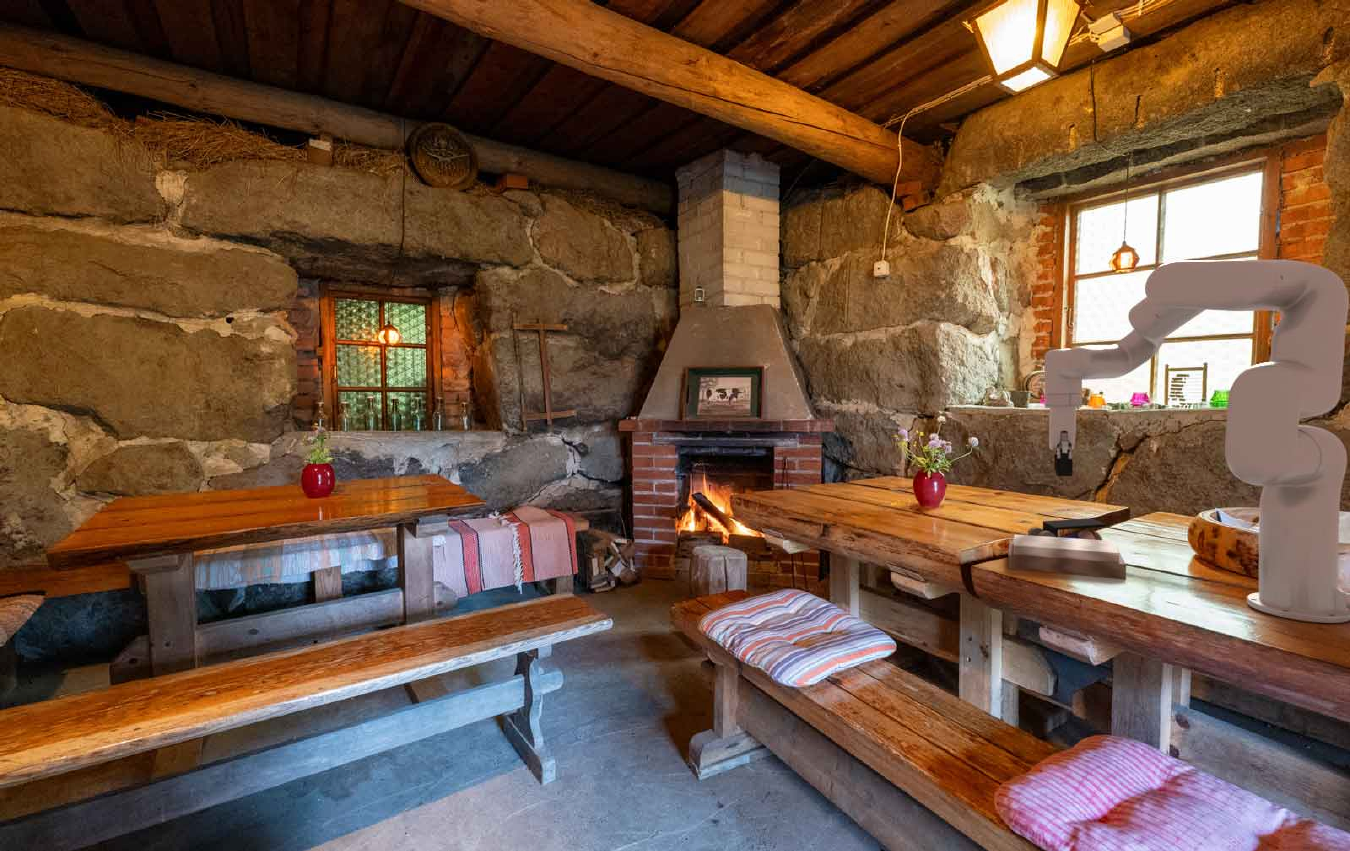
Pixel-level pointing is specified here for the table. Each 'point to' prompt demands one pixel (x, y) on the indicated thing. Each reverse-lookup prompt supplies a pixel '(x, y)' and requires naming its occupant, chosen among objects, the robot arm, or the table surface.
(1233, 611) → the table surface
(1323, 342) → the robot arm
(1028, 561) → the plinth
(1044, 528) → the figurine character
